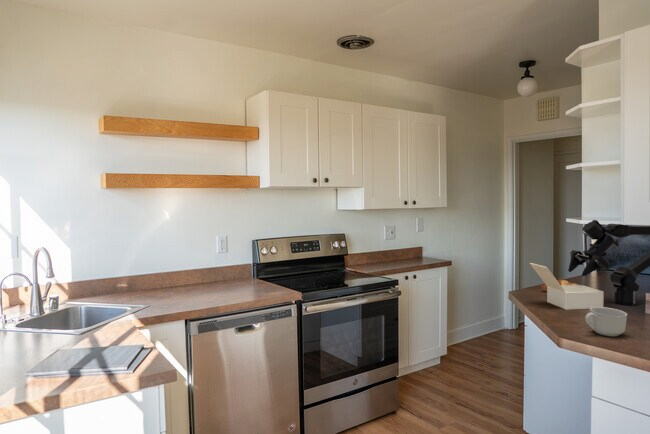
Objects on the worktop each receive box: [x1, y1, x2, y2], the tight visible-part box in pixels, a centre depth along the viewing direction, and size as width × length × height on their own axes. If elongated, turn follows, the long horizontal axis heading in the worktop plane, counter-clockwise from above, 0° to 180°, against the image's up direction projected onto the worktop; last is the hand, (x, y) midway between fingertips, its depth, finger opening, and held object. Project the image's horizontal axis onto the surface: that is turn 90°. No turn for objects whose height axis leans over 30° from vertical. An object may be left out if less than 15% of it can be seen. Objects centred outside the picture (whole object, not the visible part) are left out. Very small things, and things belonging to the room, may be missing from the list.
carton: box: [546, 284, 604, 311], centre depth 193 cm, size 16×15×7 cm
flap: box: [529, 262, 565, 292], centre depth 192 cm, size 13×13×1 cm
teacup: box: [584, 306, 628, 337], centre depth 152 cm, size 14×11×8 cm
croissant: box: [540, 279, 579, 292], centre depth 217 cm, size 21×10×8 cm, turn 59°
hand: (575, 273), depth 193 cm, fingers open, 9 cm apart
